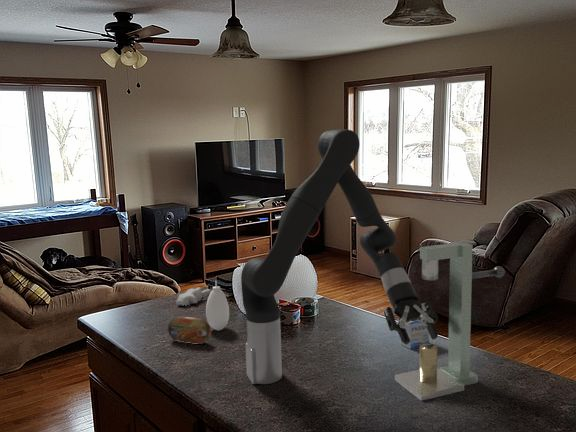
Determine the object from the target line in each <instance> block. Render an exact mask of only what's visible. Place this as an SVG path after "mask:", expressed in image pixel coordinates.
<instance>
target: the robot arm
mask: <svg viewBox="0 0 576 432" xmlns="http://www.w3.org/2000/svg"><path fill="white" fill-rule="evenodd" d="M317 150H318V152H319V155H320V157H321V158H322V161H321V162H320V164H319V165H318V166H317V168H316V169H315V171H314V172H312V174H311V175H309V176H308V178H307V179H305V180H304V181H303V182H302V183H301V184H300V185H299V186H298V187H297V188H296V189H295V190H294V192H293V193H292V195H291V196H290V198H289V199H288V201H287V202H286V204H285V206H284V207H283V209H282V212H281V213H280V214H281V215H280V218H279V220H278V221H279V223H278V228H277V233H276V238H275V241H274V242H273V245H272V247H271V248H270V249H269V252H268V253H267V255H266V257H265V258H263V257H254V258H251V259H248V261H247V262H246V263H245V264H244V266H243V268H242V270H241V276H240V279H241V280H240V282H241V296H242V306H243V308H244V311H245V316H246V317H245V318H246V319H245V321H246V339H247V340H246V341H247V342H245V347H244V349H245V363H246V364H245V365H246V367H245V368H246V369H245V370H246V376H247V378H248V379H249V381H250V382H251V384H252V385H256V384H259V385H269V384H274V383H276V382H278V381H280V380H281V379H282V377H283V366H282V360H283V359H282V339H281V338H282V337H281V335H282V333H281V313H280V312H281V309H280V306H279V304H278V303H277V301H276V298H275V294H276V293H278V292H279V291H280V290H281V288H282V286H283V285H284V282H285V280H286V278H287V275H288V274H289V271H290V269H291V267H292V265H293V262H294V260H295V259H296V256H297V254H298V253H299V251H300V249H301V247H302V245H303V244H304V242H305V240H306V238H307V236H308V234H309V232H310V231H311V229H312V228H313V226H314V225H315V223H316V222H317V219H318V218H319V217H320V215H321V212H322V211H323V209H324V206H326V203H327V202H328V200H329V198H330V197H331V195H332V193H333V192H334V190H335V188H336V186H337V184H338V186H339V187H340V189H341V190H342V192H343V195H344V196H345V198H346V200H347V203H348V204H349V205H348V206H350V209H351V211H352V214H353V216H354V218H355V220H356V222H357V224H358V226H360V227H362V228H369V227H375V228H373V229H371V230H368V231H366V232H363V233H362V234H361V235H360V237H359V245H360V247H361V248H362V250H363V252H364V253H365V254H366V255H367V256H368V257H369V258H370V260H371V261H372V263H373V264H374V265H375V268H376V270H377V272H378V274H379V277H380V279H381V282H382V286H383V288H384V291H385V294H386V295H387V297H388V301H389V302H390V305H391V306H392V307H391V306H387V307H386V309H384V311H383V314H384V317H385V319H386V322H387V326H388V329H389V331H391V332H393V331H395V332H397V333H398V336H399V338H400V342H401V341H402V342H403V343H404V344H408V343H409V342H410V339H409V336H408V334H407V331H406V329H405V328H404V325H405V321H406V322H410V321H416V320H417V321H419V322H420V323H423V324H425V325H426V326H427V329H428V332H429V337H430V339H431V340H436V339H437V338H438V335H439V332H438V330H437V327H436V326H435V324H436V322H437V321H439V319H440V318H439V316H438V314H437V313H436V311H435V309H434V307H433V304H432V303H431V301H429V300H427V301H425V302H423V303H421V302H420V301H419V300H418V295H417V293H416V290H415V288H414V287H413V286H414V285H413V283H412V282H411V280H410V277H409V276H408V275H409V274H408V273H407V272H406V271H405V269H404V266H403V264H402V262H401V259H400V257H399V255H398V254H397V253H395V252H392V251H390V252H384V253H381V252H382V251H385V250H388V249H390V248H392V247H394V246H395V245H396V243H397V236H396V233H395V231H394V230H393V229H392V228H391V227H390V226H389V224H388V223H387V222H386V220H385V219H384V218H383V216H382V215H381V213H380V212H379V209H378V207H377V204H376V202H375V199H374V197H373V196H372V194H371V192H370V190H369V189H368V188H367V186H366V185H365V184H364V183H363V181H362V180H361V179H360V177H359V176H358V175H357V173H356V172H355V170H354V169H353V167H352V165H351V164H352V163H353V161H354V160H355V159H356V157H357V155H358V153H359V150H360V139H359V135H358V134H357V133H356V132H355V131H354V130H351V129H346V128H340V129H331V130H326V131H324V132H323V133H321V135H320V137H319V138H318V141H317ZM395 315H396V316H397V317H398V320H397V321H396V318H395ZM420 315H422V317H420Z"/></svg>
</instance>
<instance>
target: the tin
mask: <svg viewBox="0 0 576 432" xmlns="http://www.w3.org/2000/svg"><path fill="white" fill-rule="evenodd" d="M167 327H168V329H167V330H168V335H169V336H170V338H171V339H172V340H173V341H174V342H176V341H175V340H179V341H184V342H191V343H198V344H201V345H203V344H204V343H206V342H207V341H209V339H210V337H211V326H210V325H209V323H208V321H207V320H206V319H203V318H200V317H190V316H183V315H181V316H177V317H175V318H173V319H171V320H170V321H169V323H168V326H167Z"/></svg>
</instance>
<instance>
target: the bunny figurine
mask: <svg viewBox="0 0 576 432" xmlns="http://www.w3.org/2000/svg"><path fill="white" fill-rule="evenodd" d="M201 290H202V287H196V288H192V287H191V288H189V289H187V290H186V291H185V292H184V293H179V294H178V295H177V296H178V297H177V300H176V301H175V302H176V303H175V304H176V305H179V306H184V305H185V306H184V307H188V306H187V305H189V306H191V304H197V303H199V302H200V301H202V299H203V295H207V294H210V293H211V291H212V290H211V289H210V288H209V289H208V288H207V289H205V290H202V291H201ZM198 301H199V302H198Z"/></svg>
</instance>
